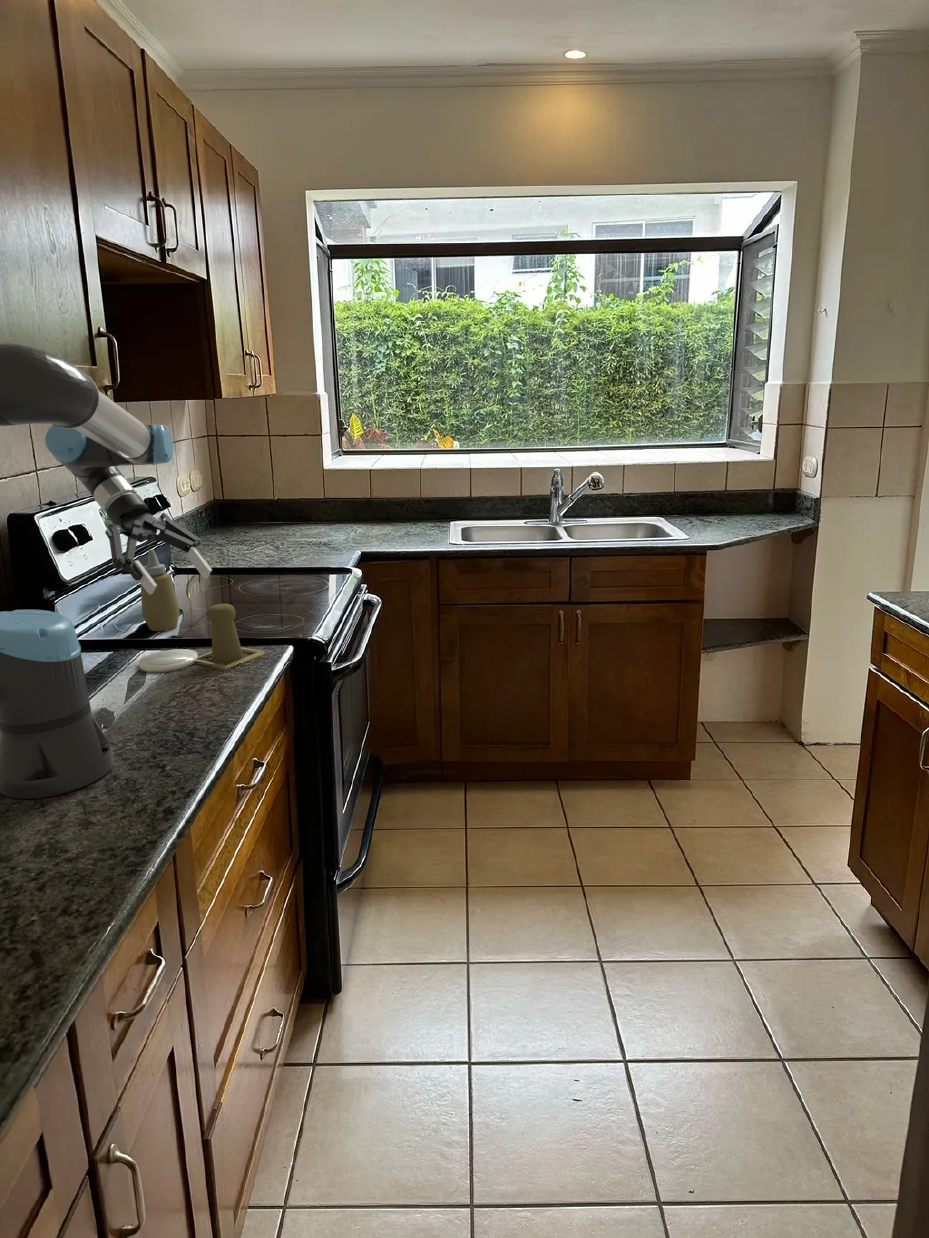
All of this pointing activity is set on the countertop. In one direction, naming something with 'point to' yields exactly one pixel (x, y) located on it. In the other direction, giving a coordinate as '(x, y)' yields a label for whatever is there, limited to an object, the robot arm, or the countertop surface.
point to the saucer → (168, 660)
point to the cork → (224, 634)
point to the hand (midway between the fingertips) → (181, 582)
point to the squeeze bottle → (159, 598)
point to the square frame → (255, 654)
